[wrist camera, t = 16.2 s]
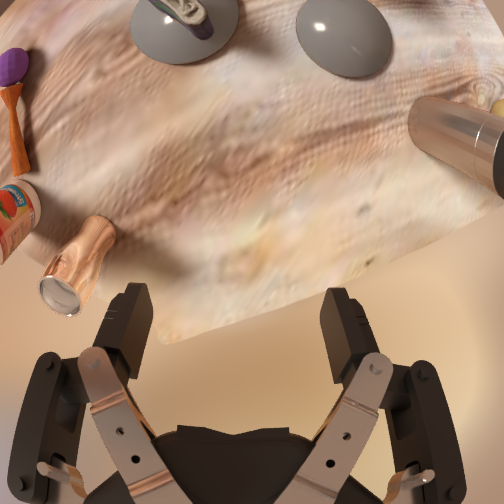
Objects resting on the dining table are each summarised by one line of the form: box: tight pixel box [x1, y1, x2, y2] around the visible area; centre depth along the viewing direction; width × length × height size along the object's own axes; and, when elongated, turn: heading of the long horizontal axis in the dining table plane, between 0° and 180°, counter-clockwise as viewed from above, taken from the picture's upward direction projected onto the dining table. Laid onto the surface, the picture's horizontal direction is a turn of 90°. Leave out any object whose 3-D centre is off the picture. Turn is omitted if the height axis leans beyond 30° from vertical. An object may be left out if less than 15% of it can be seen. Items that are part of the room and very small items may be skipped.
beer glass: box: [37, 215, 116, 317], centre depth 32 cm, size 7×7×15 cm
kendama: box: [0, 48, 31, 177], centre depth 23 cm, size 6×6×20 cm
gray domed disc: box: [296, 0, 392, 77], centre depth 25 cm, size 13×13×1 cm
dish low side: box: [130, 0, 239, 64], centre depth 23 cm, size 13×13×1 cm
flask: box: [148, 0, 214, 40], centre depth 18 cm, size 9×3×11 cm, turn 43°
